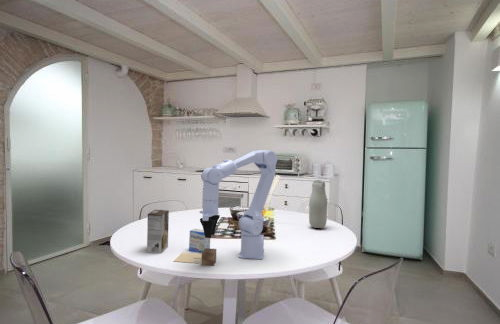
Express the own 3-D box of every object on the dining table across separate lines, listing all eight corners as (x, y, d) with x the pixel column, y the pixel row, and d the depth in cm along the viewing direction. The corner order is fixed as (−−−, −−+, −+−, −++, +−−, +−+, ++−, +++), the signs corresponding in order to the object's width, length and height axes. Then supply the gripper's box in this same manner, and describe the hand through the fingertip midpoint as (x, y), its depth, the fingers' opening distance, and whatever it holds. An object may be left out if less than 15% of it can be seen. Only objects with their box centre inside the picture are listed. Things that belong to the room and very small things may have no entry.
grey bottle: (327, 227, 177) (329, 180, 177) (323, 231, 168) (325, 181, 167) (311, 225, 182) (313, 179, 181) (306, 228, 173) (308, 180, 172)
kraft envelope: (206, 254, 123) (206, 254, 123) (199, 263, 113) (199, 262, 113) (182, 253, 124) (182, 252, 124) (173, 261, 114) (173, 260, 114)
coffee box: (153, 246, 132) (154, 209, 132) (168, 246, 132) (169, 210, 132) (146, 252, 123) (147, 213, 123) (161, 253, 123) (162, 214, 123)
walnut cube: (216, 261, 116) (216, 249, 116) (213, 266, 111) (213, 252, 111) (204, 261, 116) (204, 248, 116) (201, 265, 112) (201, 251, 112)
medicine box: (188, 250, 128) (189, 230, 127) (194, 247, 132) (194, 228, 132) (205, 253, 125) (205, 232, 125) (210, 250, 129) (210, 230, 129)
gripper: (205, 196, 121) (204, 230, 121) (194, 202, 107) (193, 240, 107) (222, 197, 120) (221, 231, 120) (214, 203, 106) (213, 241, 106)
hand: (209, 235), depth 114 cm, fingers open, 4 cm apart
